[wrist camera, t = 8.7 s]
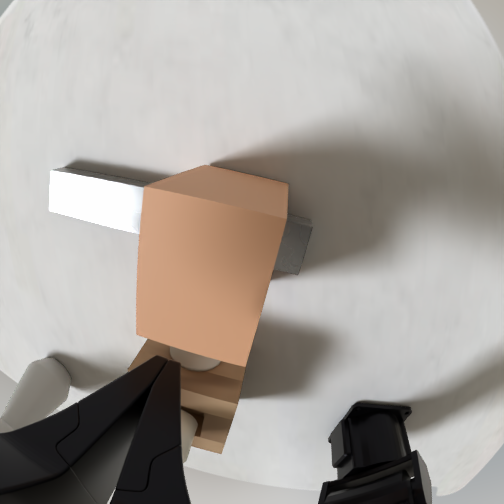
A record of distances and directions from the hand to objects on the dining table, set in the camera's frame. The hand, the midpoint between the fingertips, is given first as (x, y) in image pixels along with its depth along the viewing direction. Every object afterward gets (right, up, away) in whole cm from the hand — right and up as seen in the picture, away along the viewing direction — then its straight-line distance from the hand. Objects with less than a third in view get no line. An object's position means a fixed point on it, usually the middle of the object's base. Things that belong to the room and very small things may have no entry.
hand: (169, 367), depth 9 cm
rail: (-3, +6, +10) cm, 12 cm away
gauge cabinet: (-2, -5, +14) cm, 15 cm away
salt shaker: (-20, -10, +19) cm, 29 cm away
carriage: (+2, +5, +9) cm, 11 cm away
